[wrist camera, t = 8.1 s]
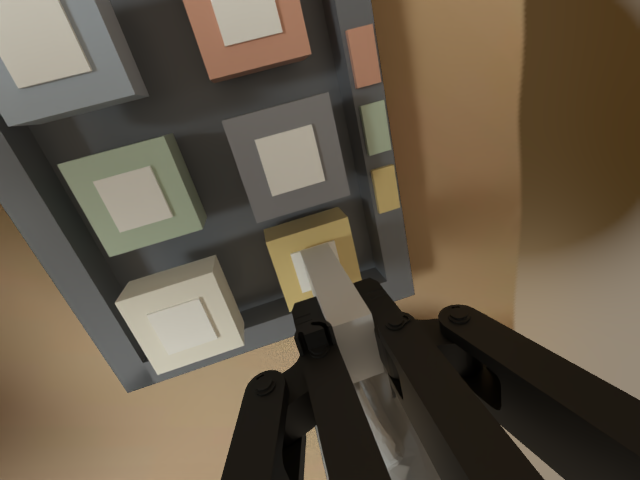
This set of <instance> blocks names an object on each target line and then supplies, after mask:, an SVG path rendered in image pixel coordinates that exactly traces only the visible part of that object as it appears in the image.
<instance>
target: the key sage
mask: <svg viewBox="0 0 640 480" xmlns="http://www.w3.org/2000/svg"><path fill="white" fill-rule="evenodd" d="M57 166H58V168H59V169H60V171H61V173H62V175H63V176H64V178H65V180H66V182H67V183H68V185H69V187H70V189H71V190H72V192H73V194H74V196H75V197H76V199H77V201H78V203H79V204H80V206H81V208H82V210H83V212H84V213H85V215H86V217H87V219H88V220H89V222H90V224H91V226H92V227H93V229H94V231H95V233H96V234H97V236H98V238H99V240H100V241H101V243H102V245H103V247H104V248H105V250H106V252H107V254H108V255H109V257H112V256H116V255H119V254H122V253H126V252H129V251H132V250H136V249H139V248H142V247H145V246H149V245H152V244H155V243H159V242H162V241H165V240H169V239H172V238H175V237H179V236H182V235H185V234H189V233H192V232H195V231H199V230H202V229H203V228H204V225H205V222H206V219H207V215H206V213H205V210H204V208H203V205H202V203H201V201H200V198H199V196H198V193H197V191H196V188H195V186H194V183H193V181H192V179H191V176H190V174H189V171H188V169H187V166H186V164H185V161H184V159H183V157H182V154H181V152H180V149H179V147H178V144H177V142H176V139H175V137H174V135H173V133H171V134H167V135H163V136H160V137H156V138H152V139H149V140H145V141H141V142H137V143H134V144H130V145H126V146H122V147H119V148H115V149H111V150H108V151H104V152H100V153H96V154H93V155H89V156H85V157H82V158H78V159H75V160H71V161H68V162H64V163H61V164H58V165H57Z"/></svg>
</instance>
